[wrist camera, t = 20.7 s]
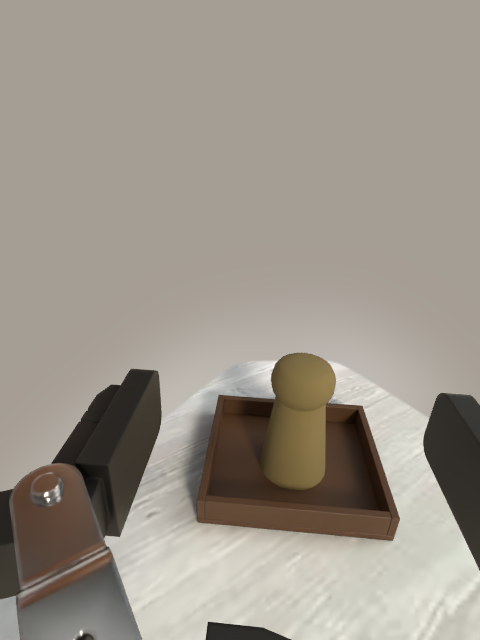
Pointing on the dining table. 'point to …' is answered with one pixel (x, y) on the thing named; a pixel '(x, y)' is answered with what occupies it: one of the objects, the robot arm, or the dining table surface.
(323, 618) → the dining table surface
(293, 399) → the cork
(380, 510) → the tray
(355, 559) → the dining table surface
